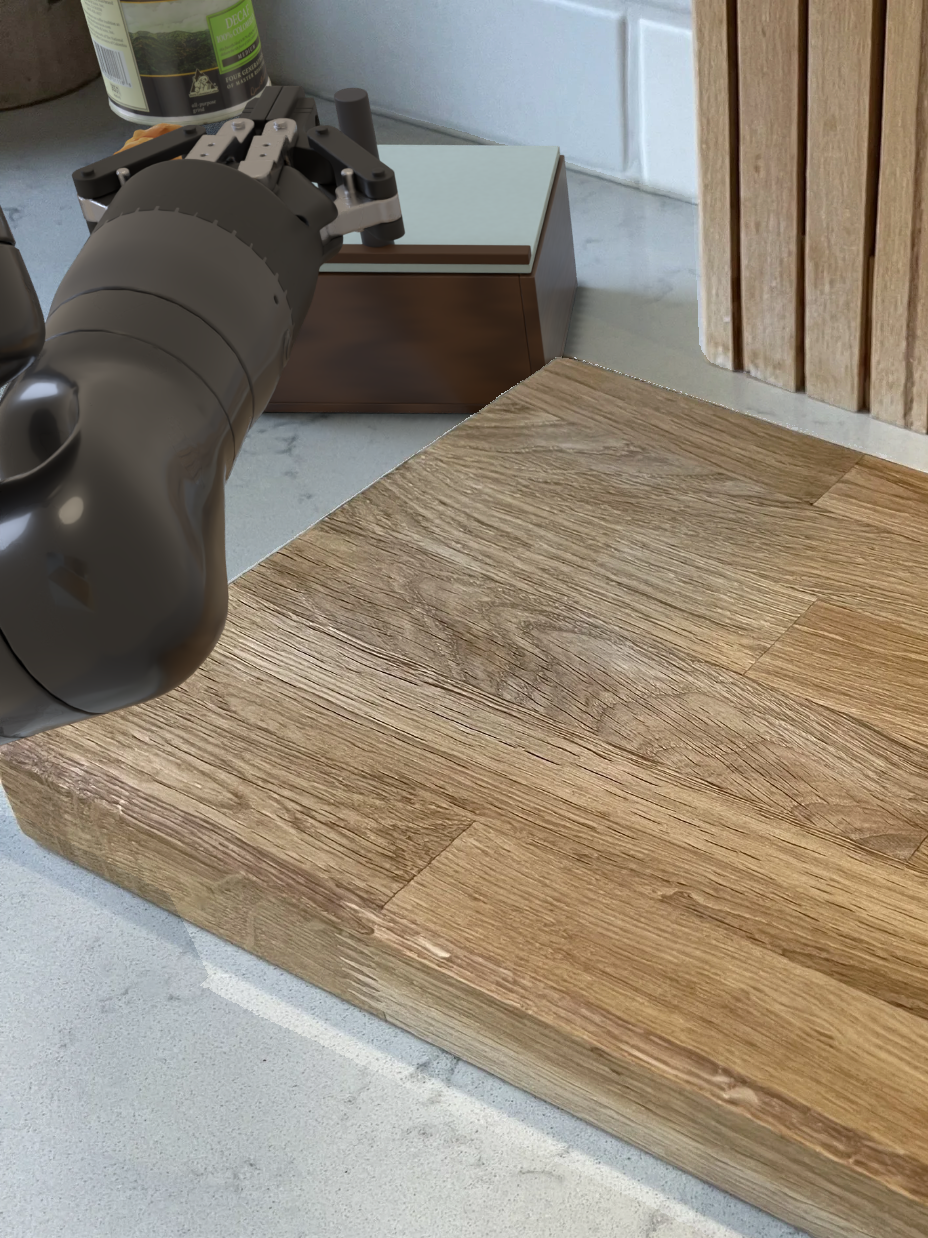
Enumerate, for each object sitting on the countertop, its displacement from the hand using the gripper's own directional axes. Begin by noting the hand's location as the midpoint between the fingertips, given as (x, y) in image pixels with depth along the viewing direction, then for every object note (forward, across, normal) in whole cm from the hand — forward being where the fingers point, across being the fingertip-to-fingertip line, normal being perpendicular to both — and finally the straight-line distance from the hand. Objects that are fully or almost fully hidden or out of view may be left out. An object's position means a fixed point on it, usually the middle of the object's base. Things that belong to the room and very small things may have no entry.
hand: (290, 108), depth 74 cm
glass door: (+16, 0, +12) cm, 20 cm away
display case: (+16, 0, +20) cm, 26 cm away
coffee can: (+40, +19, +16) cm, 47 cm away
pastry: (+24, +16, +16) cm, 33 cm away
